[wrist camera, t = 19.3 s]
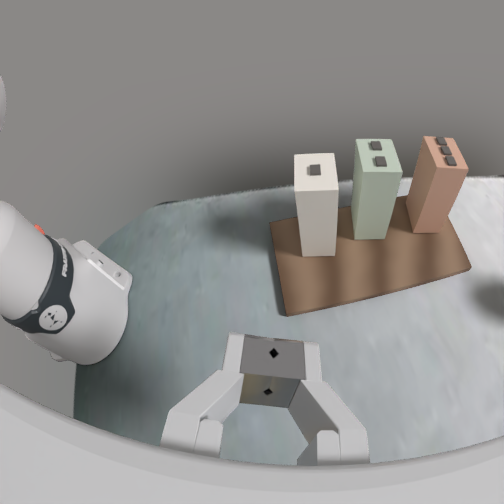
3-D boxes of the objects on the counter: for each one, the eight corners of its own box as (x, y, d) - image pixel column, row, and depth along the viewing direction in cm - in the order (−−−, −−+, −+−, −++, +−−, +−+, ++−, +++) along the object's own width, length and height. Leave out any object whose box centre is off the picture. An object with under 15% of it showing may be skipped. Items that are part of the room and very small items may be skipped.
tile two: (384, 239, 36) (403, 170, 26) (354, 239, 37) (363, 169, 27) (378, 206, 39) (391, 135, 28) (350, 206, 40) (355, 135, 29)
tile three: (439, 232, 35) (469, 167, 24) (412, 232, 36) (437, 165, 25) (430, 201, 37) (452, 134, 27) (405, 201, 38) (423, 132, 28)
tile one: (335, 255, 36) (338, 187, 26) (302, 256, 37) (294, 189, 27) (332, 220, 39) (333, 149, 29) (302, 221, 40) (294, 150, 29)
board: (286, 316, 35) (286, 313, 34) (270, 226, 42) (269, 222, 41) (468, 270, 32) (471, 267, 32) (432, 194, 39) (433, 190, 38)
